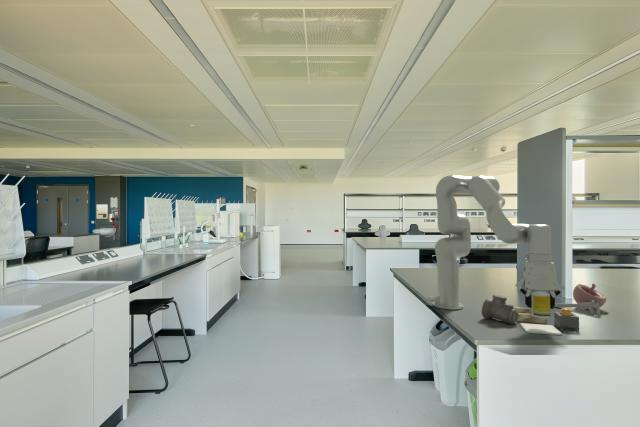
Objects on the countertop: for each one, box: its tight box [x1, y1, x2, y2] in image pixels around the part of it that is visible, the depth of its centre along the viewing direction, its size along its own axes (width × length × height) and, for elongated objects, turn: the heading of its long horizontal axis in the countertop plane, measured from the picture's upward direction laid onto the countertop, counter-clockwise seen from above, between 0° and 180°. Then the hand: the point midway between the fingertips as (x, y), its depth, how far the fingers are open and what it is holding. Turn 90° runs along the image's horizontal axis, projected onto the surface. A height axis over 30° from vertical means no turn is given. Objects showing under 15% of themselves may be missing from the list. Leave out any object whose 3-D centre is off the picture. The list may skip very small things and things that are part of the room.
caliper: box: [554, 300, 601, 316], centre depth 160 cm, size 21×1×6 cm, turn 32°
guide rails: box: [514, 306, 548, 324], centre depth 147 cm, size 10×11×3 cm
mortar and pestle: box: [572, 283, 607, 310], centre depth 162 cm, size 12×12×12 cm
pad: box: [519, 322, 563, 336], centre depth 132 cm, size 11×10×1 cm
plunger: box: [560, 307, 572, 316], centre depth 134 cm, size 3×3×5 cm
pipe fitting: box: [481, 294, 518, 325], centre depth 143 cm, size 12×8×10 cm
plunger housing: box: [553, 311, 580, 332], centre depth 134 cm, size 6×6×5 cm
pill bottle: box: [530, 290, 552, 319], centre depth 132 cm, size 6×6×12 cm
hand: (539, 307), depth 132 cm, fingers closed on pill bottle, 6 cm apart
